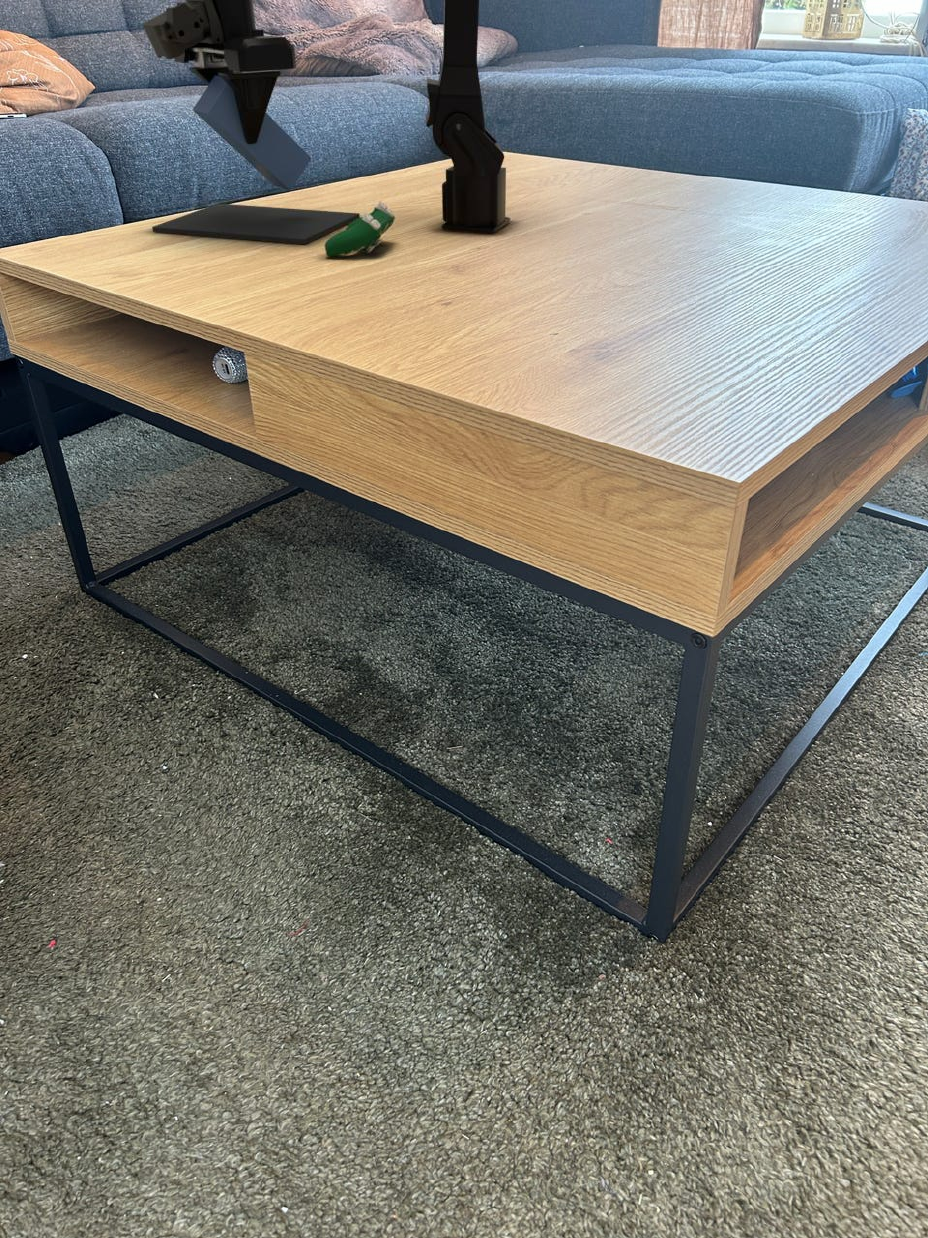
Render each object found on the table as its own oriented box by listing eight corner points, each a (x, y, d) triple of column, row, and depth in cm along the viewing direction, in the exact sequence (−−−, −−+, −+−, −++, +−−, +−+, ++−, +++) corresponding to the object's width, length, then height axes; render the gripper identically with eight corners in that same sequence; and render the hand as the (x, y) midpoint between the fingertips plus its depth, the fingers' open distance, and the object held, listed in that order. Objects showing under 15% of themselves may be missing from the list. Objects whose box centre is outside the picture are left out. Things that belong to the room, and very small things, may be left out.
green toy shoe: (345, 277, 101) (382, 236, 98) (318, 249, 100) (355, 207, 97) (369, 255, 109) (404, 217, 105) (345, 229, 107) (379, 190, 104)
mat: (360, 218, 117) (359, 213, 116) (305, 244, 106) (304, 238, 105) (218, 208, 122) (217, 203, 122) (152, 232, 112) (151, 226, 111)
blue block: (294, 153, 112) (214, 74, 103) (312, 158, 109) (231, 77, 100) (273, 185, 112) (192, 109, 104) (290, 190, 109) (208, 113, 101)
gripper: (112, -28, 100) (142, 138, 109) (178, -29, 87) (206, 159, 96) (213, -30, 105) (234, 129, 114) (289, -31, 92) (306, 148, 101)
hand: (242, 141), depth 106 cm, fingers closed on blue block, 4 cm apart
